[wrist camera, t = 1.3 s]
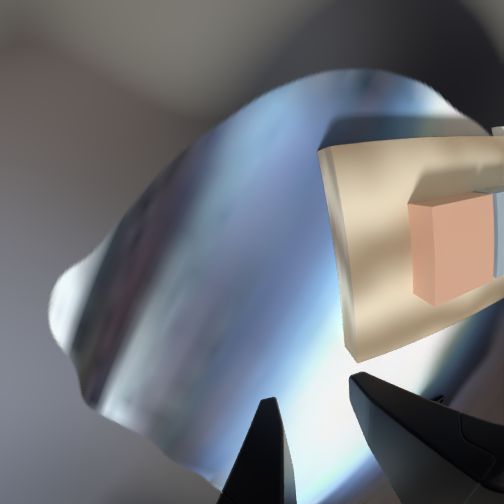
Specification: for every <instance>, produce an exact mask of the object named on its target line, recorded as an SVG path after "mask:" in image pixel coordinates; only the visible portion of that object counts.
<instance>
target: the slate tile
mask: <svg viewBox="0 0 504 504" xmlns="http://www.w3.org/2000/svg"><path fill="white" fill-rule="evenodd" d="M473 192H476V193H486V194H492V195H493V210H494V269H493V277H494V278H498V277H500V276H502V275H504V185H503V186H497V187H492V188H486V189H481V190H475V191H473Z"/></svg>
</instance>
